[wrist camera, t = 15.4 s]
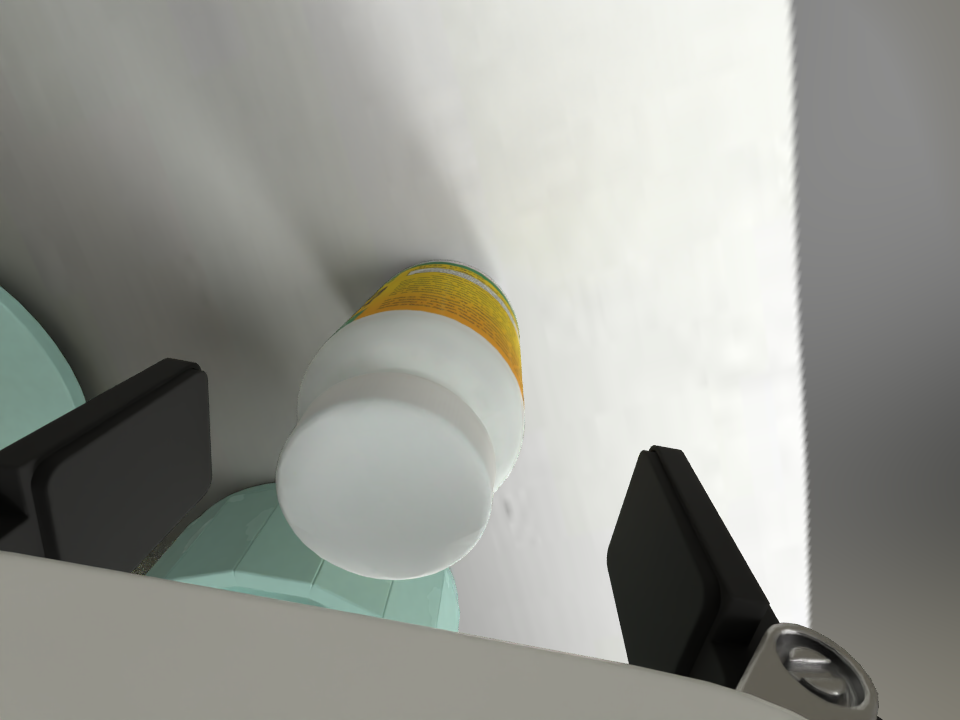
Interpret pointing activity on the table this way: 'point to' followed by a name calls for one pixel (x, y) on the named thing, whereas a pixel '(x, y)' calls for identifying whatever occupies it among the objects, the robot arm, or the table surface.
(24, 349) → the tin lid
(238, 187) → the table surface
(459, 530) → the supplement bottle
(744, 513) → the table surface
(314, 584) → the tin
